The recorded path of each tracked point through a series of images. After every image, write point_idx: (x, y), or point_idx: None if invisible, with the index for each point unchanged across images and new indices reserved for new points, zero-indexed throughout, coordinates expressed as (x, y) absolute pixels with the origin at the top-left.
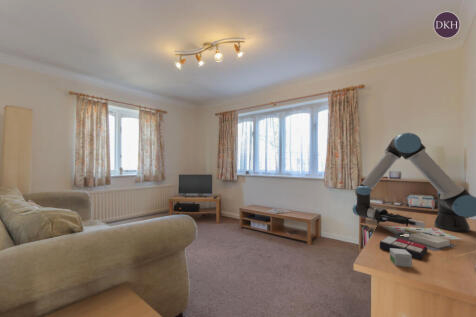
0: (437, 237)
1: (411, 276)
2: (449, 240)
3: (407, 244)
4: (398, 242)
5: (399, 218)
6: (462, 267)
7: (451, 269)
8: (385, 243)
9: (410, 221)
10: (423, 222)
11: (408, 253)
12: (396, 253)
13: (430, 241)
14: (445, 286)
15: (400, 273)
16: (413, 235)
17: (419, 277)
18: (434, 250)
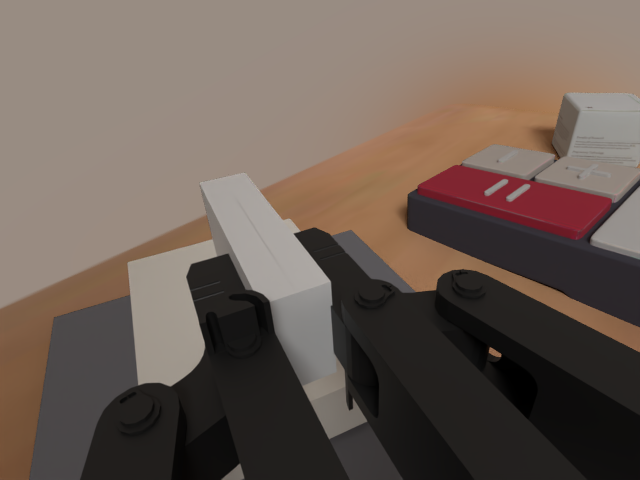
0: (152, 305)
1: None
2: (130, 263)
3: (533, 183)
4: (594, 184)
5: (518, 419)
6: (354, 160)
7: (409, 149)
8: None
9: (338, 261)
10: (228, 177)
11: (575, 95)
12: (626, 93)
13: None
14: (491, 109)
15: None
16: None
17: (545, 120)
18: (344, 235)
